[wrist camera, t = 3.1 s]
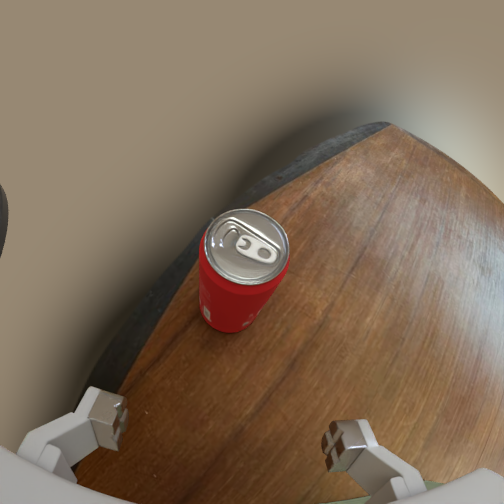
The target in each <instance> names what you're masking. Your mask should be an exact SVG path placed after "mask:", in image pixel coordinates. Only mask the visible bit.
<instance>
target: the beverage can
mask: <svg viewBox="0 0 504 504" xmlns="http://www.w3.org/2000/svg"><path fill="white" fill-rule="evenodd" d="M289 259H290V255H289V242H288V238H287V236H286V233H285V231H284V229H283V228H282V227H281V226H280V225H279V224H278V223H277V222H276V221H275V220H274V219H273V218H271V217H270V216H268V215H266V214H264V213H262V212H259V211H256V210H252V209H235V210H231V211H228V212H225V213H223V214H221V215H220V216H218V217H217V218H216V219H215V220H214V221H213V222H212V223H211V224H210V226H209V227H208V229H207V230H206V231H205V233H204V235H203V237H202V239H201V242H200V247H199V303H200V311H201V314H202V316H203V318H204V319H205V321H206V322H207V323H208V324H209V325H210V326H211V327H213V328H214V329H216V330H219V331H222V332H227V333H233V332H238V331H241V330H243V329H245V328H247V327H248V326H249V325H250V324H251V323H252V322H253V321H254V320H255V318H256V317H257V315H258V314H259V312H260V311H261V309H262V308H263V307H264V305H265V304H266V302H267V301H268V299H269V298H270V296H271V295H272V294H273V292H274V291H275V289H276V288H277V286H278V285H279V283H280V282H281V280H282V279H283V277H284V276H285V274H286V272H287V269H288V266H289Z"/></svg>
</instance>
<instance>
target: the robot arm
mask: <svg viewBox="0 0 504 504" xmlns="http://www.w3.org/2000/svg"><path fill="white" fill-rule="evenodd" d="M126 405H127V398H126V397H123V396H120V395H117V394H113V393H110V392H107V391H104V390H101V389H98V388H95V387H92V386H91V387H89V388H88V389H87V391H86V393H85V395H84V397H83V398H82V400H81V402H80V404H79V406H78V407H77V409H76V411H75V413H72V412H71V413H69V414H67V415H64V416H62V417H60V418H58V419H56V420H54V421H52V422H50V423H47V424H45V425H43V426H41V427H39V428H37V429H34V430H32V431H30V432H28V433H27V435H26V437H25V438H24V440H23V442H22V444H21V445H20V447H19V449H18V451H17V452H16V454H15V453H13V452H11V451H10V450H8V449H6V448H5V447H3V446H1V445H0V504H136V503H132V502H129V501H125V500H122V499H118V498H115V497H112V496H109V495H106V494H103V493H100V492H97V491H94V490H91V489H88V488H86V487H83V486H81V485H78V484H76V483H77V479H76V477H75V475H74V473H73V472H72V470H71V468H70V467H71V466H73V465H74V464H76V463H77V462H78V461H80V460H81V459H83V458H84V457H85V456H87V455H88V454H90V453H91V452H92V451H94V450H95V449H97V448H98V447H99V446H101V447H104V448H108V449H111V450H115V451H119V449H120V446H121V443H122V440H123V438H122V433H123V432H125V431H126V429H127V425H128V420H129V413H128V410H127V408H126ZM329 429H330V430H329V431H327V432H325V434H324V436H323V437H322V443H321V445H322V451H323V453H324V454H325V455H327V458H326V459H325V462H326V466H327V470H328V472H339V471H346V472H347V473H348V474H349V475H350V476H351V477H352V478H353V479H354V480H355V481H356V482H357V483H358V484H359V485H360V486H361V487H362V488H363V489H364V490H365V491H366V492H367V493H368V494H369V495H370V496H371V498H370V499H369V500H367V501H366V502H365V503H364V504H504V477H502V476H500V475H499V474H497V473H495V472H493V471H491V470H489V469H486V468H479V469H477V470H475V471H473V472H471V473H469V474H466V475H464V476H462V477H460V478H458V479H455V480H453V481H451V482H448V483H446V484H443V485H441V486H438V487H436V488H433V489H430V490H427V488H426V486H425V484H424V482H423V480H422V477H421V475H420V473H419V471H418V470H417V469H415V468H414V467H412V466H411V465H409V464H408V463H406V462H405V461H403V460H402V459H400V458H399V457H397V456H396V455H394V454H393V453H391V452H390V451H389V450H387V449H386V448H384V447H383V446H379V445H378V443H377V441H376V438H375V436H374V434H373V432H372V430H371V427H370V425H369V423H368V421H367V420H366V419H359V420H340V421H332V422H331V423H330V425H329Z"/></svg>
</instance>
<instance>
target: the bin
mask: <svg viewBox="0 0 504 504" xmlns="http://www.w3.org/2000/svg"><path fill="white" fill-rule="evenodd" d="M423 482H424V484H425V486H426V488H427V490H430V489H433V488H436V487H438V486H441V485H443V484H444V483H438V482H432V481H423ZM370 498H371V496H366V497H361V498H355V499H350V500H343V501H337V502H329V503H321V504H364V503H365V502H366V501H367V500H369V499H370Z"/></svg>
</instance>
